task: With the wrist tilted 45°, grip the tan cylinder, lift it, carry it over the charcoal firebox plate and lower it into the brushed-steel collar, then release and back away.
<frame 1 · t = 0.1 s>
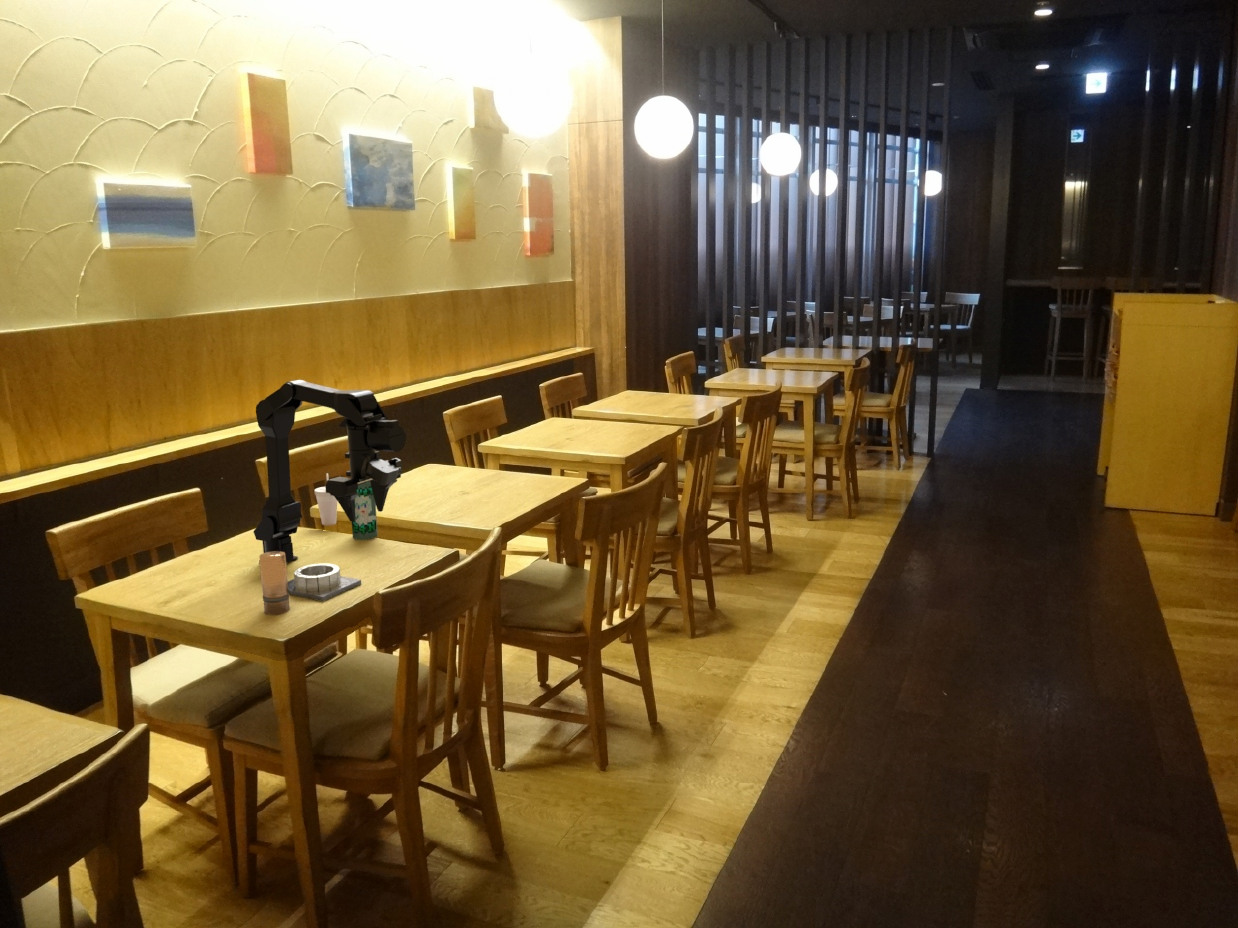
hand: (366, 516, 219), 15 cm above the table, tool pointing down, fingers open, 9 cm apart
firebox plate: (318, 587, 216), on the table
tan cylinder: (277, 610, 203), on the table
can: (365, 537, 254), on the table
smoothie: (329, 524, 266), on the table
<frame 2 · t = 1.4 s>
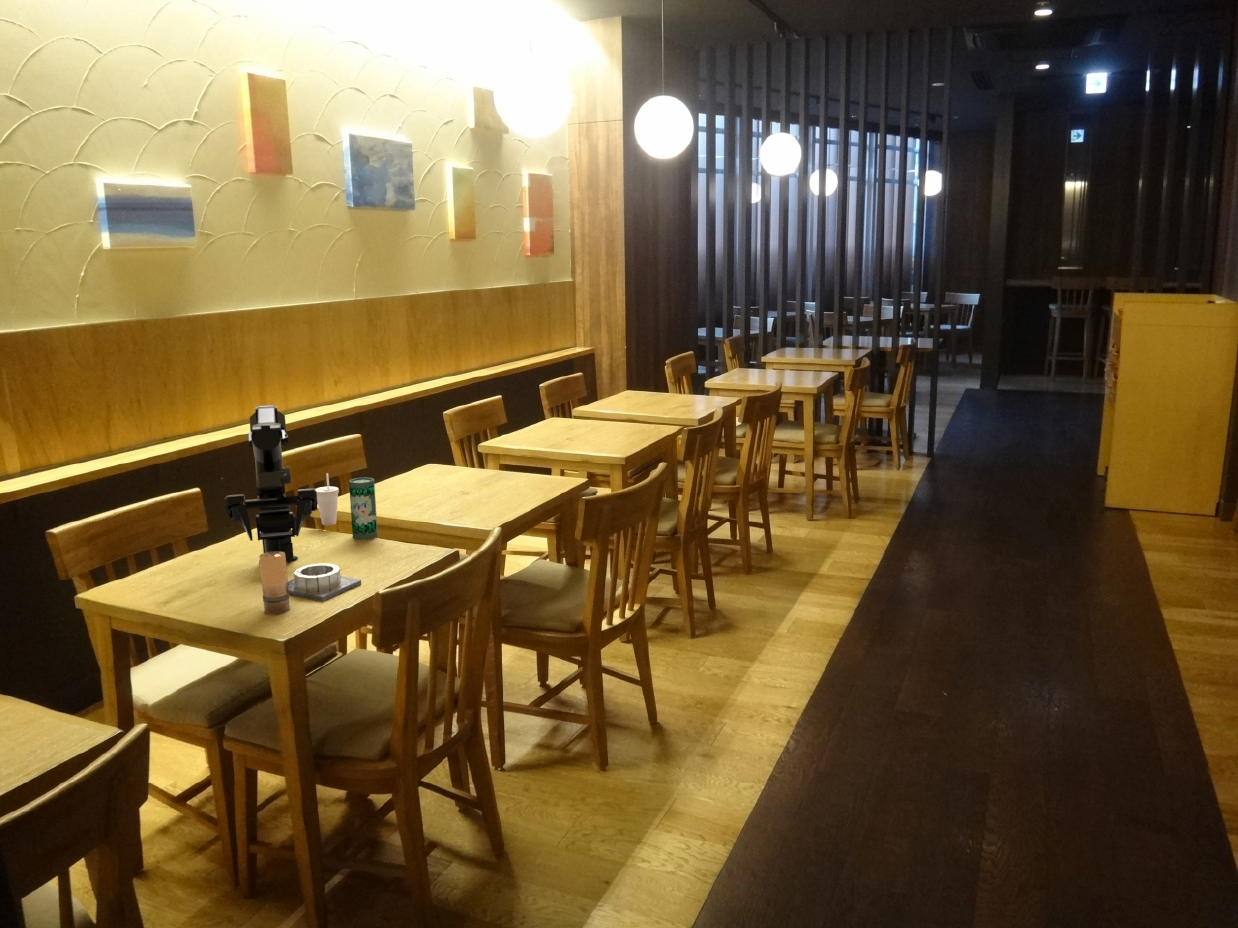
hand: (274, 537, 208), 13 cm above the table, tool tilted 45°, fingers open, 9 cm apart
nothing on the table moved.
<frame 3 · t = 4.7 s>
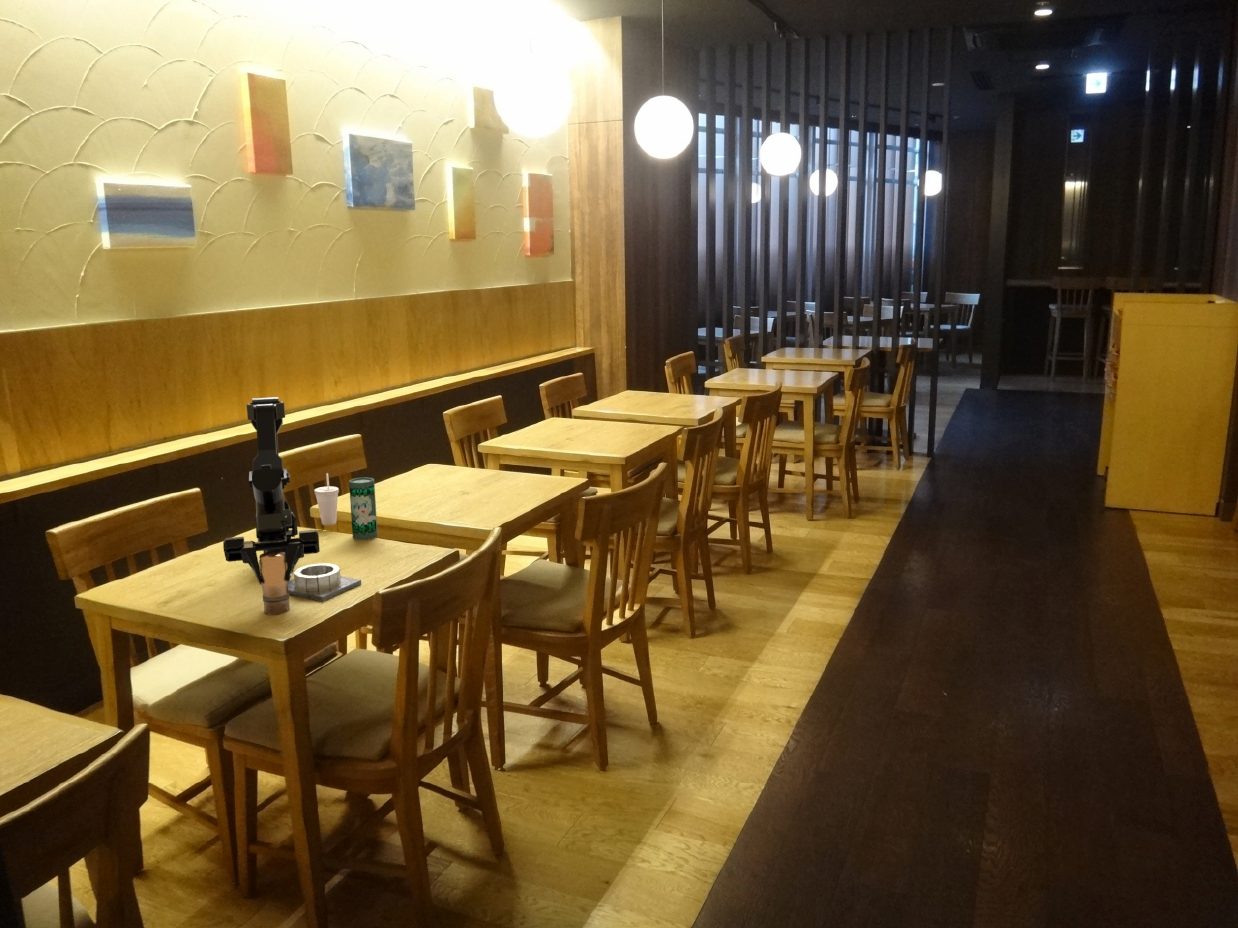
hand: (274, 582, 200), 7 cm above the table, tool tilted 45°, fingers closed on tan cylinder, 5 cm apart
tan cylinder: (277, 609, 203), on the table, touching gripper
everything else where it was.
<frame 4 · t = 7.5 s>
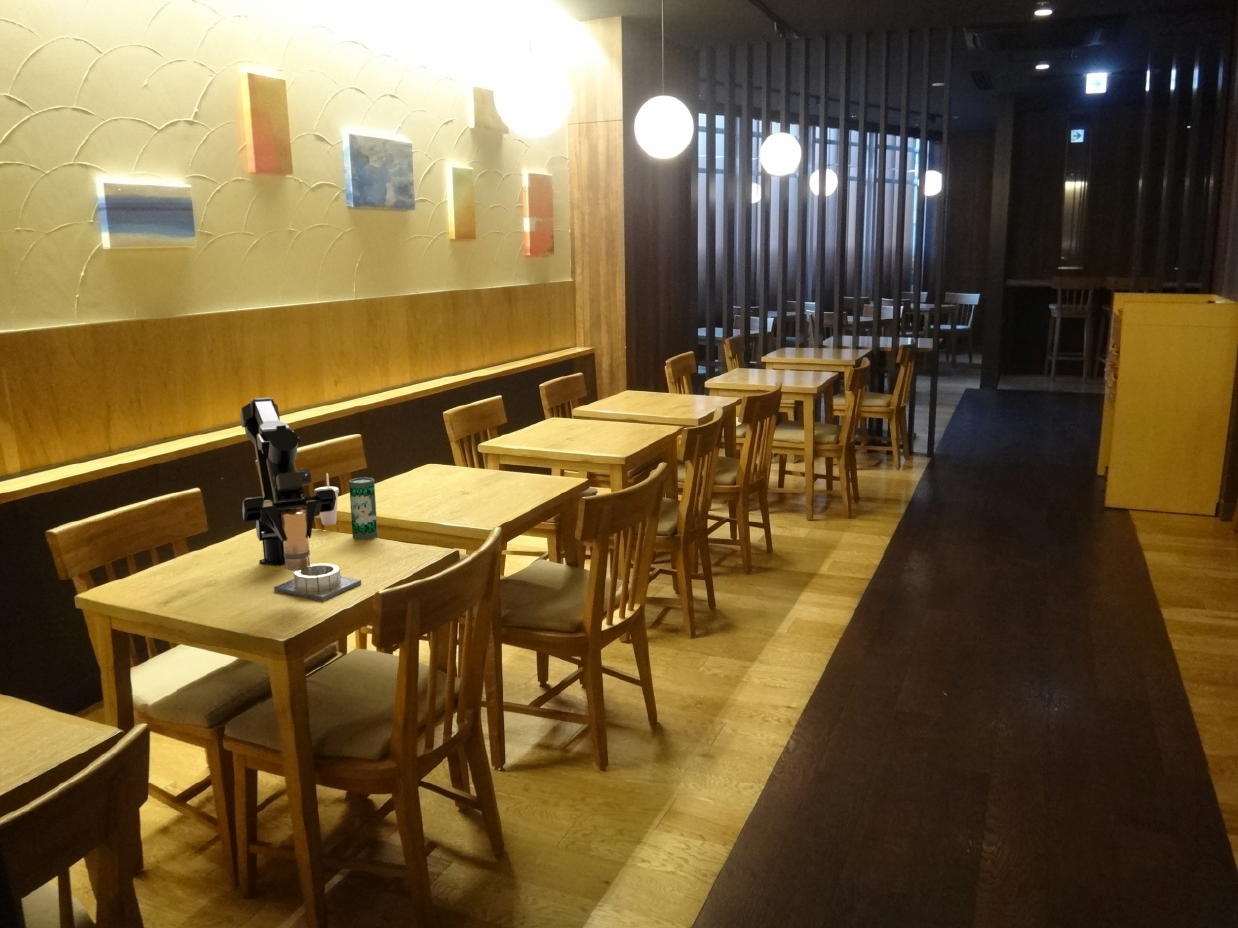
hand: (296, 538, 205), 14 cm above the table, tool tilted 45°, fingers closed on tan cylinder, 5 cm apart
tan cylinder: (298, 566, 208), point 7 cm above the table, touching gripper
everything else where it was.
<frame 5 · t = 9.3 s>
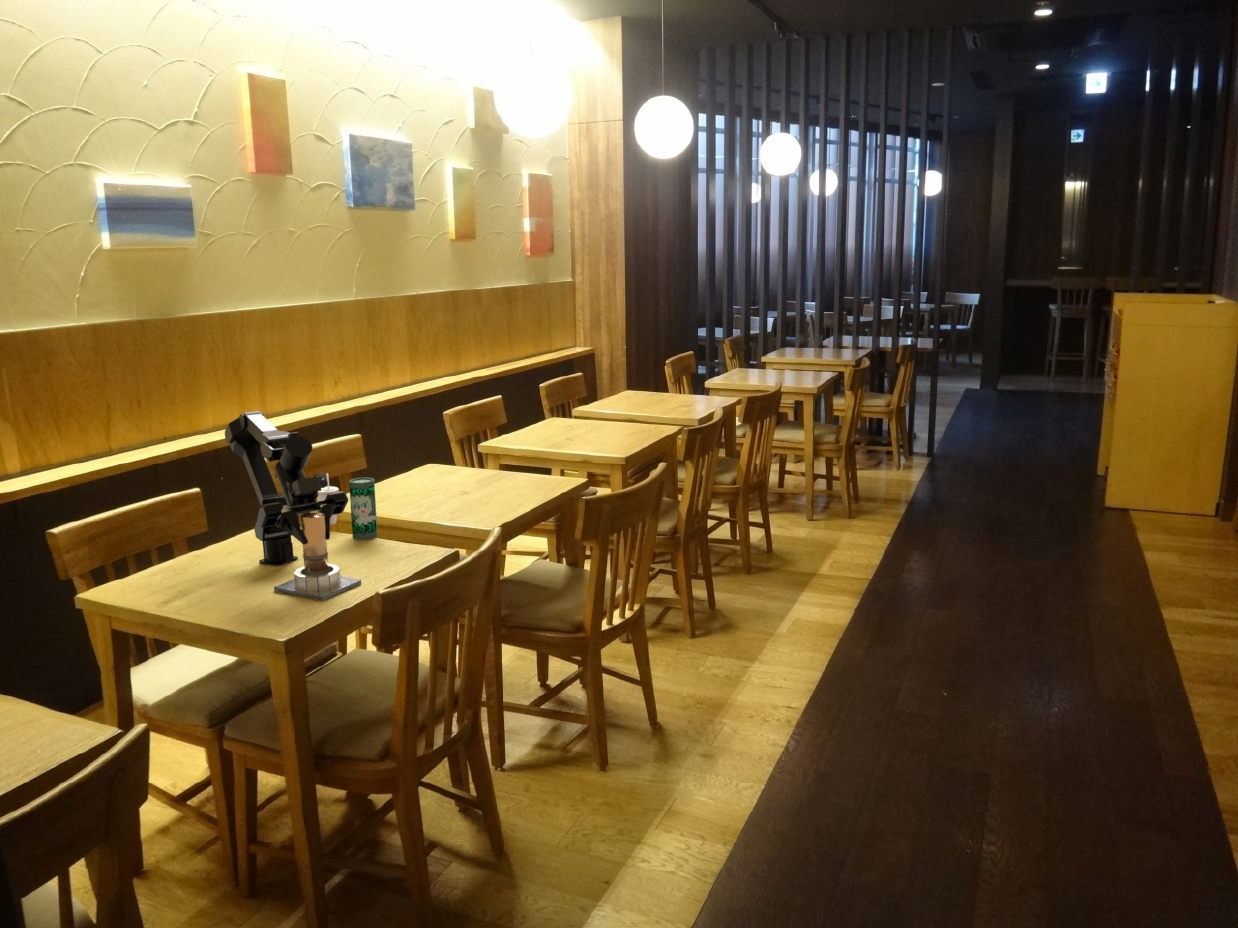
hand: (316, 541, 213), 11 cm above the table, tool tilted 45°, fingers closed on tan cylinder, 5 cm apart
tan cylinder: (316, 568, 215), point 4 cm above the table, touching gripper
everything else where it was.
when the fingers open (9 cm above the table, at t = 10.5 s): tan cylinder drops 1 cm, resting on firebox plate.
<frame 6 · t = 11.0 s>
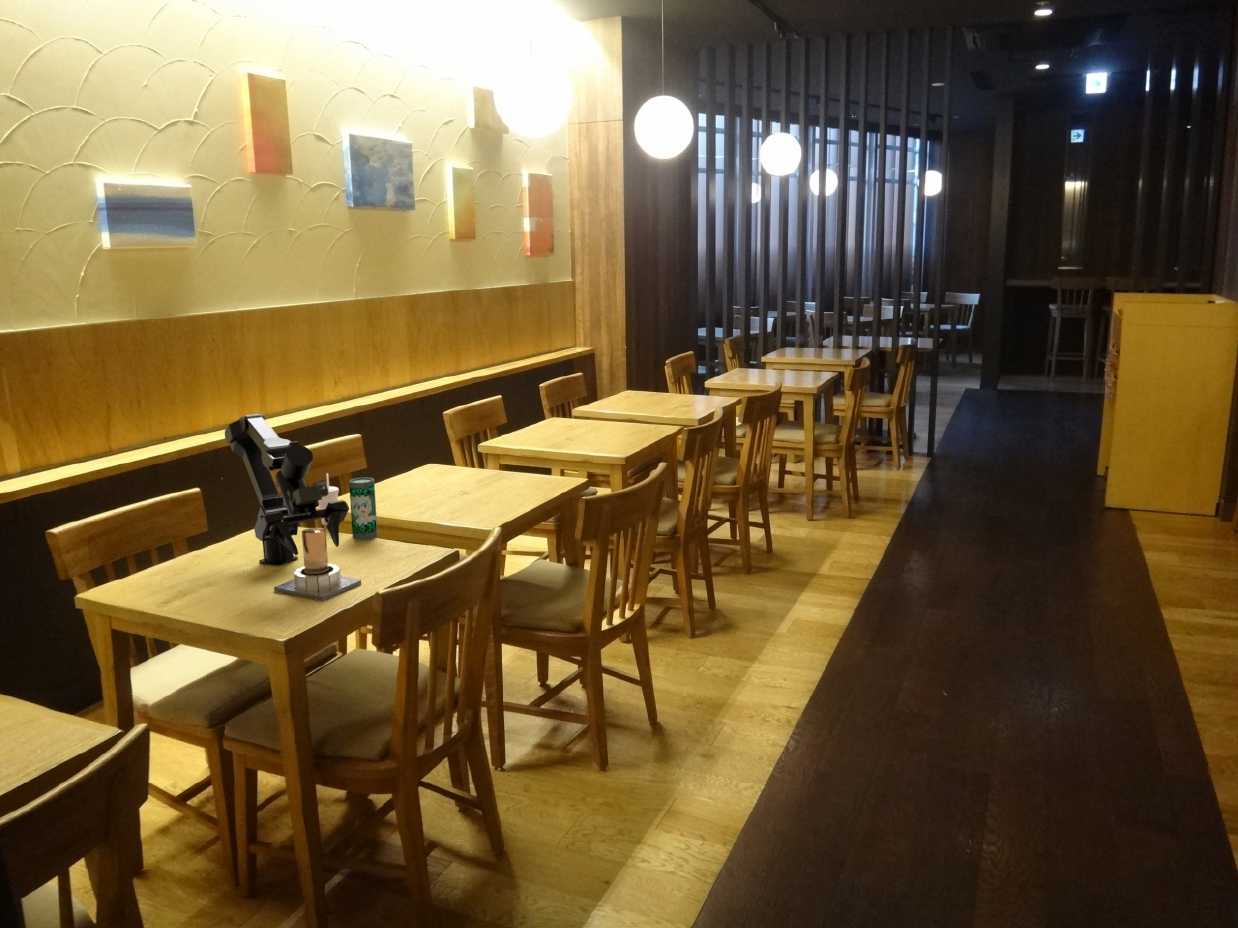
hand: (317, 550, 213), 9 cm above the table, tool tilted 45°, fingers open, 9 cm apart
tan cylinder: (317, 583, 216), point 1 cm above the table, touching firebox plate
everything else where it was.
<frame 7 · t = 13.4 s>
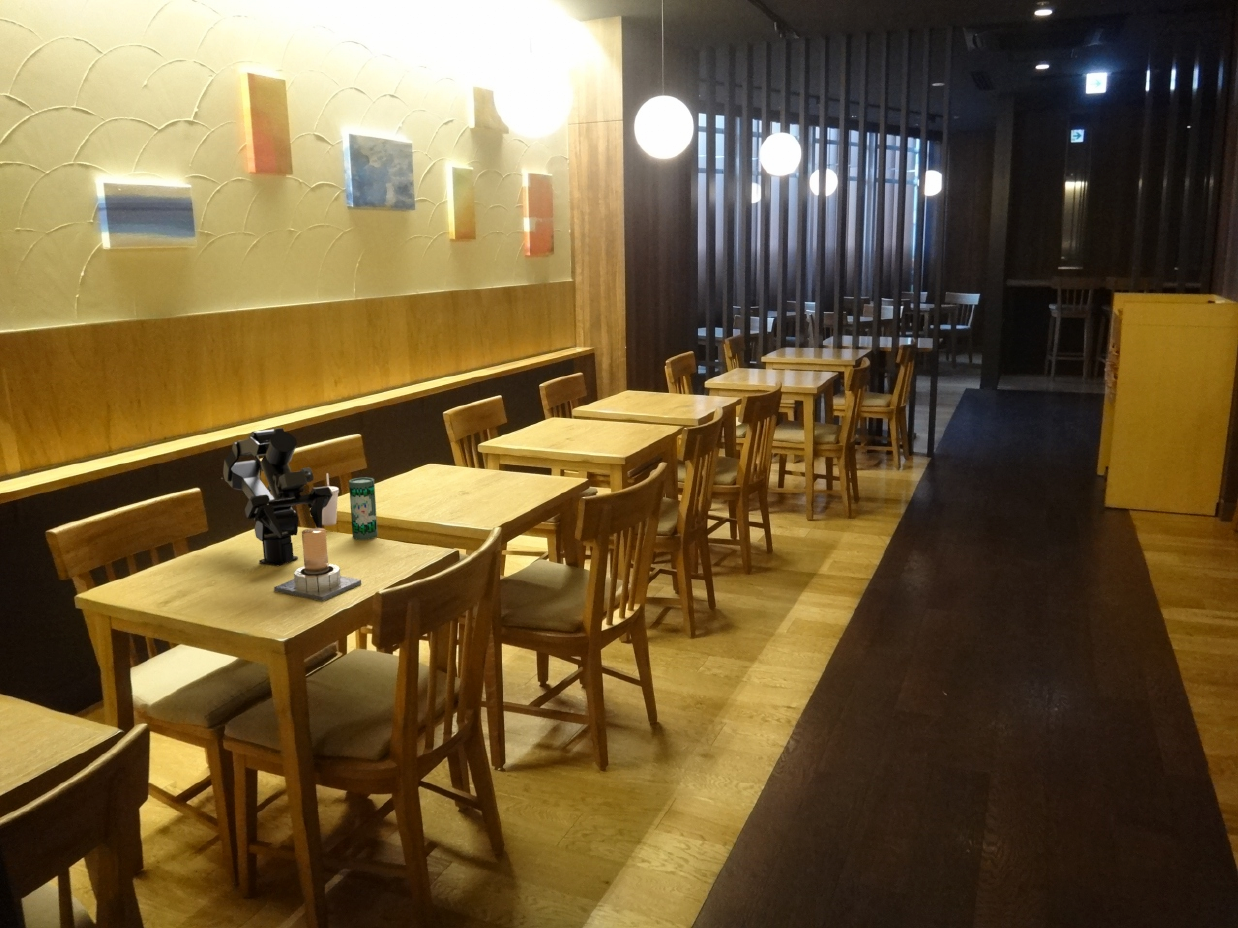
hand: (301, 533, 220), 11 cm above the table, tool tilted 45°, fingers open, 9 cm apart
nothing on the table moved.
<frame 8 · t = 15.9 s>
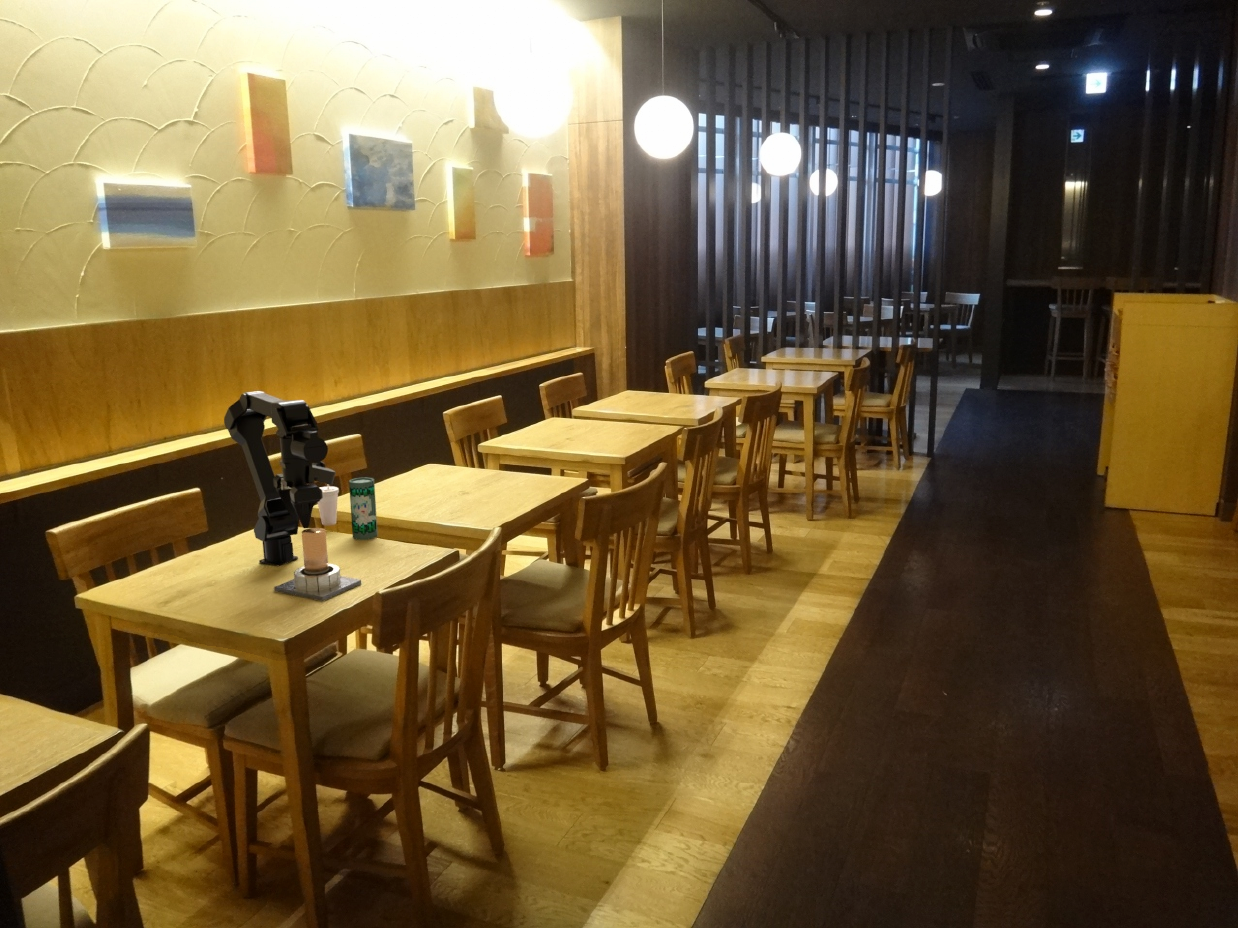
hand: (300, 523, 223), 12 cm above the table, tool pointing down, fingers open, 9 cm apart
nothing on the table moved.
at the end: tan cylinder 0.1 cm off-centre on the firebox plate, point 1.0 cm above the firebox plate's base; tan cylinder tilted 1°; the gripper is holding nothing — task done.
